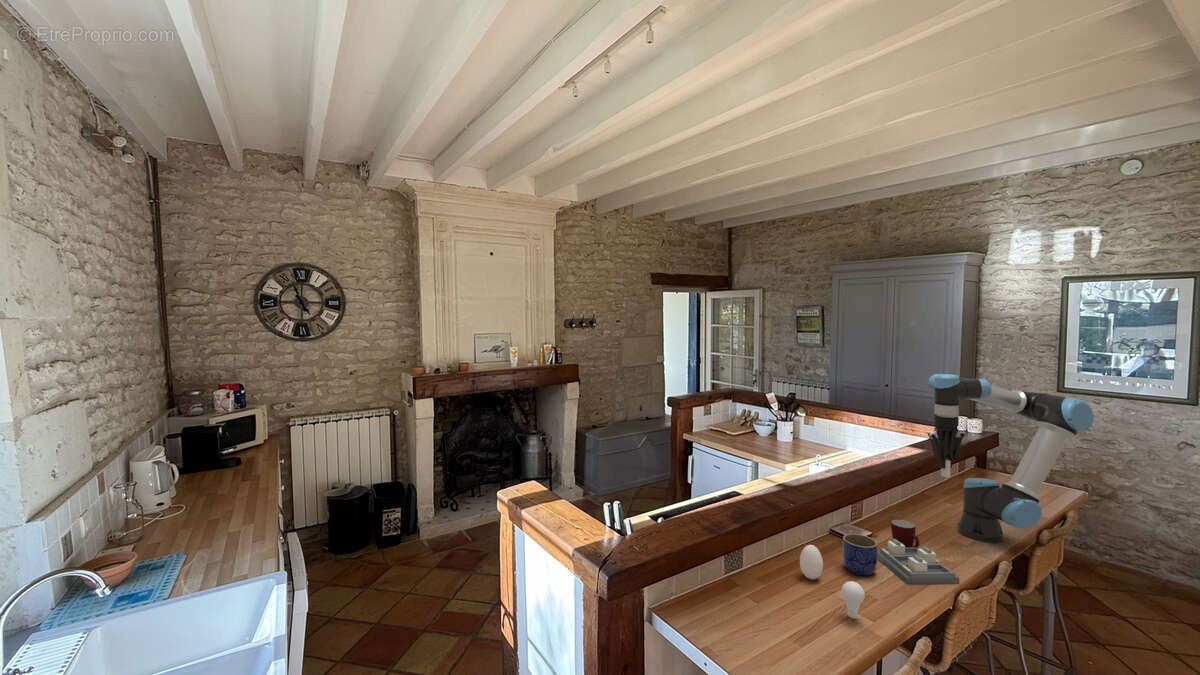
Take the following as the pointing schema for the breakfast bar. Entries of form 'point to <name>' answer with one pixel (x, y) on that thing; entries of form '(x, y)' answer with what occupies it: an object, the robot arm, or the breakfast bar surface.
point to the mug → (904, 532)
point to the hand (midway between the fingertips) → (945, 476)
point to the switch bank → (900, 567)
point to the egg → (811, 562)
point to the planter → (859, 553)
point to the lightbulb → (853, 597)
